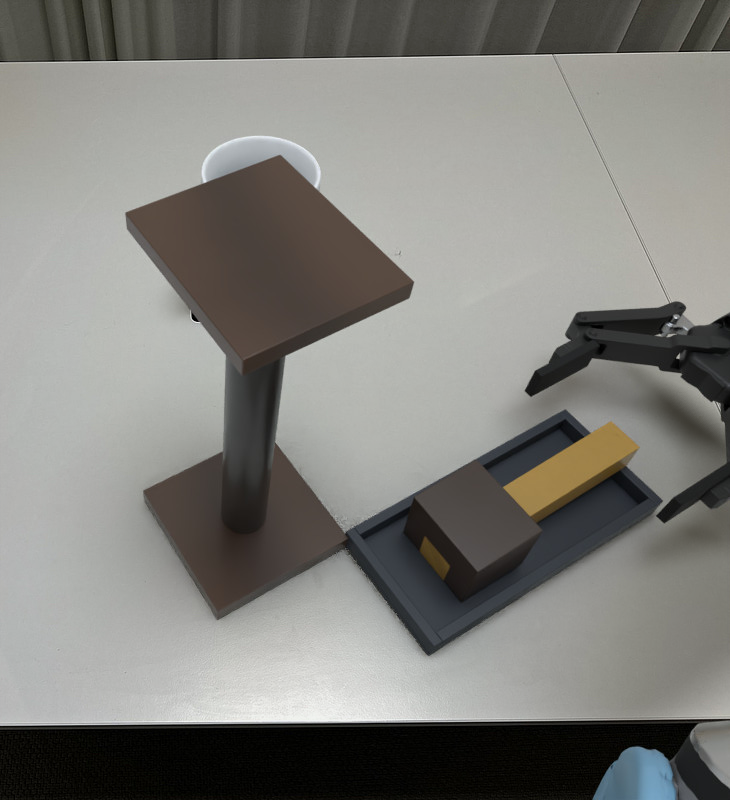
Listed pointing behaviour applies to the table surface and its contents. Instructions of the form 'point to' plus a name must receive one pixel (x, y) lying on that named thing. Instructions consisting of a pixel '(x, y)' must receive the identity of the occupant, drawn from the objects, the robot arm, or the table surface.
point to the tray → (552, 553)
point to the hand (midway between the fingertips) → (596, 444)
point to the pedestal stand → (257, 363)
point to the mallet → (505, 510)
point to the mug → (258, 157)
